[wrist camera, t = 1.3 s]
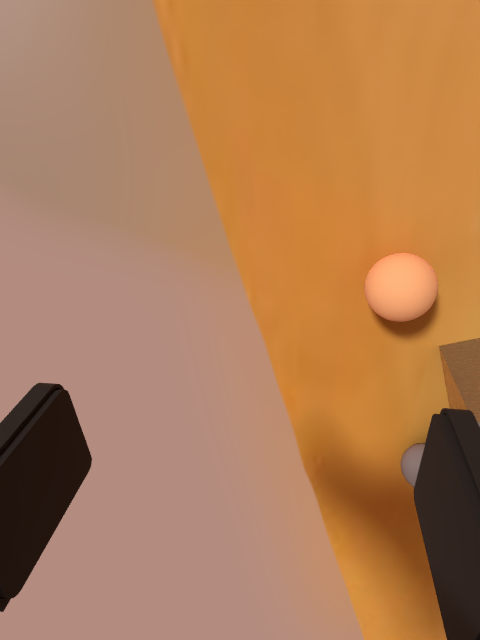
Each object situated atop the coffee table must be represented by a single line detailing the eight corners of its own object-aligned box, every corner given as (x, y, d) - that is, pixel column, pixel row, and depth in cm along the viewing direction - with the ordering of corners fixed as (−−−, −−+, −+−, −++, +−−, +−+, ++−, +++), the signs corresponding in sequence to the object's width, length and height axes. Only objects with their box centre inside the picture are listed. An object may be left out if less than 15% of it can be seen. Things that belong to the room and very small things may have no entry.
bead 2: (454, 439, 34) (440, 477, 32) (459, 471, 36) (447, 509, 33) (406, 429, 37) (390, 463, 34) (413, 458, 38) (398, 493, 36)
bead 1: (423, 234, 27) (441, 261, 23) (433, 292, 29) (451, 325, 25) (355, 253, 28) (360, 281, 24) (368, 307, 30) (376, 341, 26)
